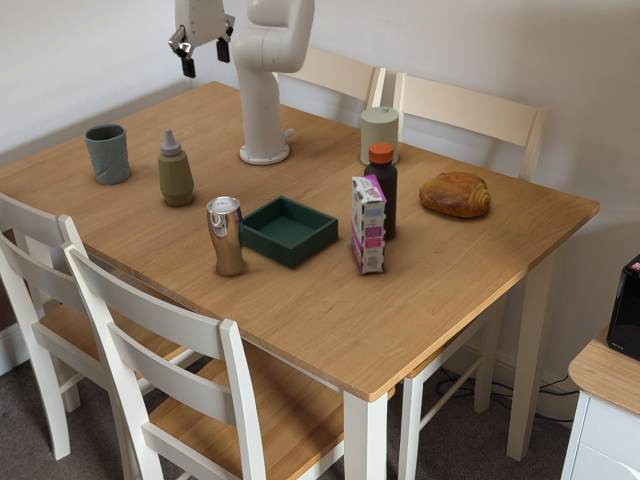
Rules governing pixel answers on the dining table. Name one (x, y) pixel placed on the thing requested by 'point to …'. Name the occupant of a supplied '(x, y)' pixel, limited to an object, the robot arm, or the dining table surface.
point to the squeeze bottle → (174, 172)
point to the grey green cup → (108, 152)
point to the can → (379, 130)
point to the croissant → (456, 194)
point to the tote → (288, 231)
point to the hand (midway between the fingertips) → (207, 69)
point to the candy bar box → (368, 224)
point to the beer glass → (226, 234)
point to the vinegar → (385, 180)
